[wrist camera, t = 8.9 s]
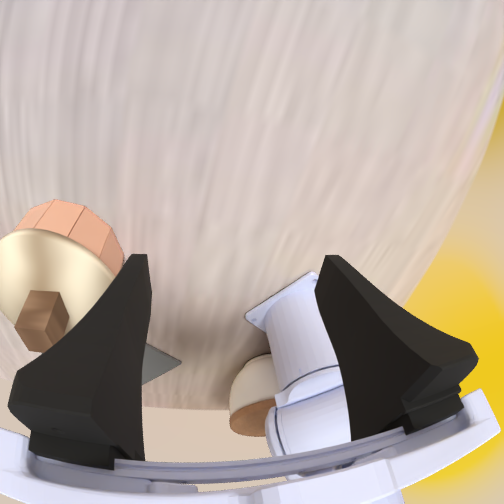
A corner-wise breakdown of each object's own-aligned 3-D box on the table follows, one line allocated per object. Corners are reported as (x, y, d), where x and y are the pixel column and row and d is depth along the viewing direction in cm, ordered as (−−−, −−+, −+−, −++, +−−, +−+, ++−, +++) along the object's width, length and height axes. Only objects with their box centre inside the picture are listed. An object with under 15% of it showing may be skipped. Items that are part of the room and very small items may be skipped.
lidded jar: (323, 341, 34) (345, 412, 27) (294, 384, 40) (308, 443, 33) (231, 341, 32) (241, 422, 24) (219, 385, 38) (225, 450, 31)
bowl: (146, 254, 24) (138, 294, 20) (86, 311, 26) (76, 348, 23) (50, 176, 18) (23, 207, 14) (6, 253, 21) (-14, 287, 17)
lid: (111, 226, 16) (92, 275, 13) (138, 348, 24) (134, 392, 20) (-30, 230, 14) (-59, 268, 11) (22, 338, 21) (10, 375, 18)
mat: (181, 361, 33) (181, 363, 33) (122, 393, 37) (122, 395, 37) (84, 306, 26) (84, 308, 26) (42, 352, 30) (41, 354, 30)
